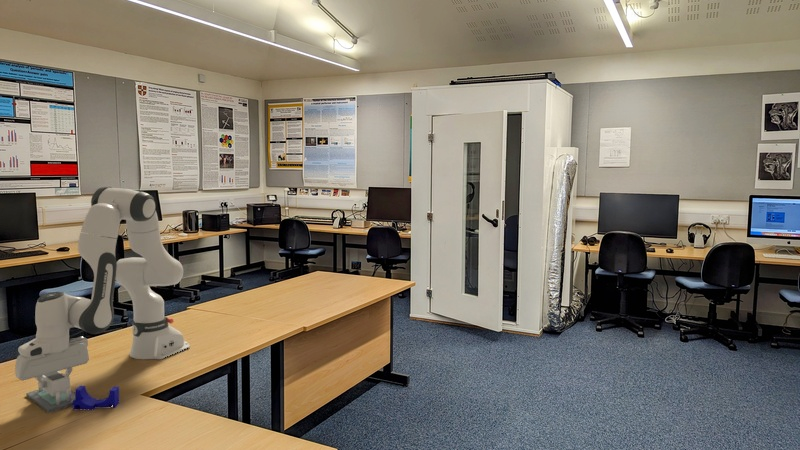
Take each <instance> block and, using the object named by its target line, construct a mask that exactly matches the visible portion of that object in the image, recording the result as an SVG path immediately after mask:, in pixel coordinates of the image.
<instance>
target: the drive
mask: <svg viewBox="0 0 800 450" xmlns="http://www.w3.org/2000/svg"><path fill="white" fill-rule="evenodd" d="M64 374H65V373H63V372H62V371H61V370H60V371H56V372H53V373H49V374H45V375H42V376H43V378H42V379H41V380H42V381H45V382H47V384H46V385H47V387H45V388H42V389H43V390H44V391H46V392H47V393H49V394H50V395H52V396H56V392H57V391H60V394H62V393H65V392H66V389H67V388H70V389H71V380H70V379H71V378H70V376H69V377H68V376H66V375H64Z"/></svg>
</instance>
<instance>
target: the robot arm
mask: <svg viewBox="0 0 800 450" xmlns="http://www.w3.org/2000/svg"><path fill="white" fill-rule="evenodd" d="M90 204H91V205H90V206H91V207H89V209H88V211H87V213H86V215H85V217H84V221H83V223H82V225H81V230H80V233H79V236H78V241H77V242H78V244H77V250H78V253H79V255H80V256H81V257H82V259H83V260H85V262H86V263H87V264H88V265H89V266H90V268H91V269H92V271H93V277H94V278H93V283H92V284H93V285H92V289H91V290H92V292H91V299H90V298H86V297H84V296H74V295H70V294H68V293H65V292H63V291H50V292H47V293H44V294H42V295H41V296H39V298H38V299H37V300H36V301H37V302H36V304H35V316H34V319H35V320H34V321H35V325H36V334H35V338H33V339H32V340H29V341H28V342H25V343H24V344H22V345H20V346H19V347H18V349H17V351H18V353H19V354H18V356H17V357H16V360H15V368H14V369H15V371H14V375H15V377H16V378H17V379H18V380H20V381H23V382H24V381H26V380H30V379H33V378H34V379H35V380H36V381H37V383H38V382H39V386H38V388H39V387H40V388H41V389H42V388H45V387H47V385H46V384H47V382H45V381H42V380H41V379H42V378H43V376H42V375H45V374H49V373H53V372H56V371H60V372H61V371H64V370H65V373H63V374H64V375H66V376H68V377H69V378H70V375H71V373H72V372H73V368H75V367H79V366H82V365H85V364H88V362H89V360H90V356H89V349H88V346H89V342H88V341H89V340H88V338H86V337H84V336H78V337H75V338H70V329H71V328H77V329H80V330H83V331H84V332H86V333H88V334H90V335H97V334H98V335H99V334H101V333H103V332H105V331H106V330H108V328H110V327H111V325H112V323H113V321H114V317H115V311H114V294H115V287H116V286H115V285H116V283H118V284H119V285H121V286H122V287H123V288H124V289H125V290H126V292H127V293H128V295H129V296H130V299H131V302H132V310H133V312H132V313H133V319H132V329H131V330H132V336H133V337H132V343H131V347H130V351H129V356H130V358H133V359H136V360H163V359H165V357H166V358H168V357H170V355H171V356H173V355H175V353H176V354H178V353H181V352H183V351H185V350H184V349H186V350H188V349H190V348H191V347H190V343H189V342H187V341H186V340H184V336H183V333H182V332H181V331H179V330H178V329H176V328H174V327H173V326H172V325H171V324H173V323H174V319H173V318H172V317H167V316H165V300H164V299H163V297H162V296H161V295H160V294H158V293H156V292H155V291H154V290H152V289H151V287H150V286H153V287H167V286H173V285H177V284H179V282H181V280H182V278H183V276H184V267H183V265H182V263H181V262H180V261H179V260H178V259H176V258H175V257H173V256H172V255H170V254H169V252H168V251H167V250H166V249H165V247H164V244H163V242H162V236H161V232H160V230H161V229H160V223H159V217H158V213H157V210H156V209H157V203H156V200H155V198H154V196H152V195H150V194H149V193H147V192H144V191H138V190H135V189H131V188H123V187H112V186H103V187H102V186H101V187H99V188H97V189H96V190H95V192H94V193H93V194H92V196H91V199H90ZM122 220H124V221H125V222H126V225H125V226H126V233H127V239H128V245H129V247H130V249H131V250H132V251H133V252H134V253H136V254H137V255H139V256H141V257H125V258H120V259H118V260H117V259H116V249H117V248H116V246H117V242H118V241H117V240H118V237H119V231H120V225H121V223H120V222H121V221H122ZM189 347H190V348H189ZM187 348H188V349H187ZM182 350H183V351H182ZM180 351H181V352H180ZM177 352H178V353H177ZM172 354H173V355H172ZM167 356H168V357H167Z"/></svg>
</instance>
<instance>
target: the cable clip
mask: <svg viewBox="0 0 800 450" xmlns="http://www.w3.org/2000/svg"><path fill="white" fill-rule="evenodd" d="M74 393H75V400H73V405H72V410H74V411H75V410H78V409H79V410H78V411H80V409H82V410H81V411H83V410H84V409H85V411H93V410H94V409H96V408H95V407H111V406H112V405H113V408H112V409H116V408H117V406H119V404H120V386H115V385H114V386H113V387H112V388H111V389H110V390H109V392H108V393H109V394H108V396H107V397H106V398H95V397H93V396H91V394H90V393H89V392H88V391H87V389H86V386H85V385H79V386H78V387H77V388H75V391H74ZM88 409H89V410H88ZM92 409H93V410H92Z"/></svg>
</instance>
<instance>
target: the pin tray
mask: <svg viewBox="0 0 800 450" xmlns="http://www.w3.org/2000/svg"><path fill="white" fill-rule="evenodd" d="M37 383H38V386H37V387H38V389H36V390H33V391H29V392H27V393H25V394H26V397H27V398H28V399H29V400H31V402H34V403H35V404H36V405H37V406H38V407H40V408H41V410H43V411H45V412H46V413H48V414H50V413H52V412H53V413H54V412H57V411H59V410H63V409H65V408H69V407H71V406H72V407H73V400H75V391H72V390H71V387H70V388H67V389H66V392H65V393H62V394H60V391H57V392H56V396H52V395H50V394H49V393H47V392H46V391H44V390H43V389H41V388H40V387H39V382H38V381H37Z"/></svg>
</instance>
